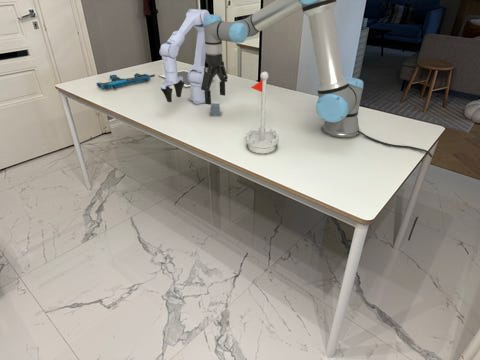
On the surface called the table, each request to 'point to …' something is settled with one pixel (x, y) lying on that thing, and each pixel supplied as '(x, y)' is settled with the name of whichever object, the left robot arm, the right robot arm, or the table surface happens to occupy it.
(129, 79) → the submachine gun
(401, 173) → the table surface
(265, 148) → the flag stand
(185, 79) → the tablet
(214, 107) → the block
